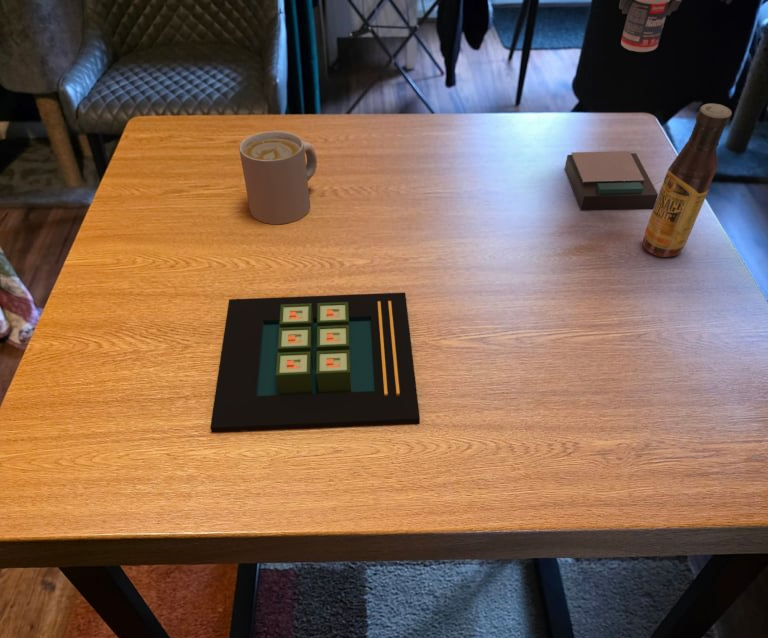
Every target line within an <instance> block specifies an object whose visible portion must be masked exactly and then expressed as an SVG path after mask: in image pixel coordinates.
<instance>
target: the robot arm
mask: <svg viewBox="0 0 768 638" xmlns="http://www.w3.org/2000/svg"><path fill="white" fill-rule="evenodd" d="M632 1H633V0H619V4H618V9H619V10H622V11H621V13H622V14H623V15H624V14H625V15H628V11H629V8H630V6H631V3H632ZM682 1H683V0H670V4H669V8H668V11H667V15H666V16H671V15H672V12H675V11H677V10H678V8H679V6H680V5H681V3H682Z"/></svg>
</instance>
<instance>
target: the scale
mask: <svg viewBox="0 0 768 638" xmlns="http://www.w3.org/2000/svg"><path fill="white" fill-rule="evenodd" d="M564 171H565V172H566V175H567V178H568V180H569V181H568V182H569V184H570V186H571V188H572V192H573V194H574V196H575V199H576V201H577V204H578V207H579V210H580V211H613V210H617V211H618V210H619V211H620V210H653V209H654V206H655V203H656V200H657V198H658V195H659V193H658V192H657V190H656V188H655V186H654V184H653V182H652V181H651V179H650V177H649V175H648V173H647V171H646V169H645V167H644V165H643V163H642V162H641V160H640V158H639V156H638V154H637V153H636V152H633V153H631V152H630V150H624V151H623V150H619V151H618V150H617V151H616V150H615V151H613V150H612V151H577V152H576V151H574V152H571V153H570V154H567V156H566V159H565V166H564Z"/></svg>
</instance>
